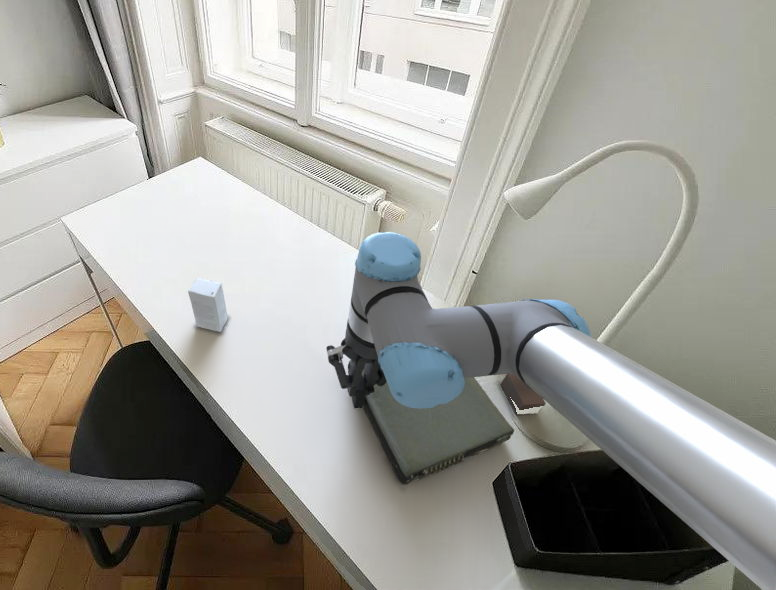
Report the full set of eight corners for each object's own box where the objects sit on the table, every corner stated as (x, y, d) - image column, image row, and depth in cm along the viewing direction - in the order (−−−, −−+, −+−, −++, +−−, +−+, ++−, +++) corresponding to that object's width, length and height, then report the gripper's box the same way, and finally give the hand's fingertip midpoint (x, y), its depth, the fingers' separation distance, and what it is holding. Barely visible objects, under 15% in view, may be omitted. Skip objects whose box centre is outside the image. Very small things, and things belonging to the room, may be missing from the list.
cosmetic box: (228, 317, 92) (222, 282, 85) (221, 333, 89) (214, 298, 81) (204, 311, 94) (196, 276, 86) (195, 326, 90) (187, 291, 83)
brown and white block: (537, 414, 74) (546, 403, 72) (515, 415, 74) (523, 405, 72) (520, 382, 79) (528, 372, 76) (500, 384, 79) (507, 373, 76)
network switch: (411, 505, 64) (417, 494, 61) (332, 378, 80) (334, 364, 77) (517, 436, 71) (527, 423, 68) (425, 333, 88) (430, 319, 85)
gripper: (410, 300, 62) (386, 379, 77) (325, 304, 62) (318, 383, 77) (427, 343, 56) (397, 419, 71) (333, 348, 56) (324, 424, 71)
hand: (356, 400), depth 74 cm, fingers closed
